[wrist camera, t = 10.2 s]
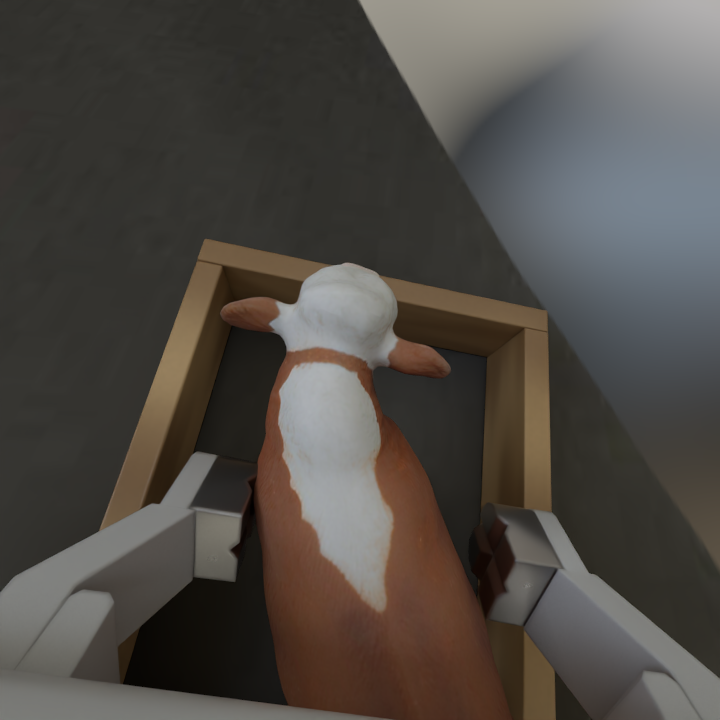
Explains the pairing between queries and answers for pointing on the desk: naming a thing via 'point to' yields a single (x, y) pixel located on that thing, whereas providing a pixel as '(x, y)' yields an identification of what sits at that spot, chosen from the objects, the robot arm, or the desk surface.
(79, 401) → the desk surface
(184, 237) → the desk surface
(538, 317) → the crate
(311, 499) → the bull figurine
